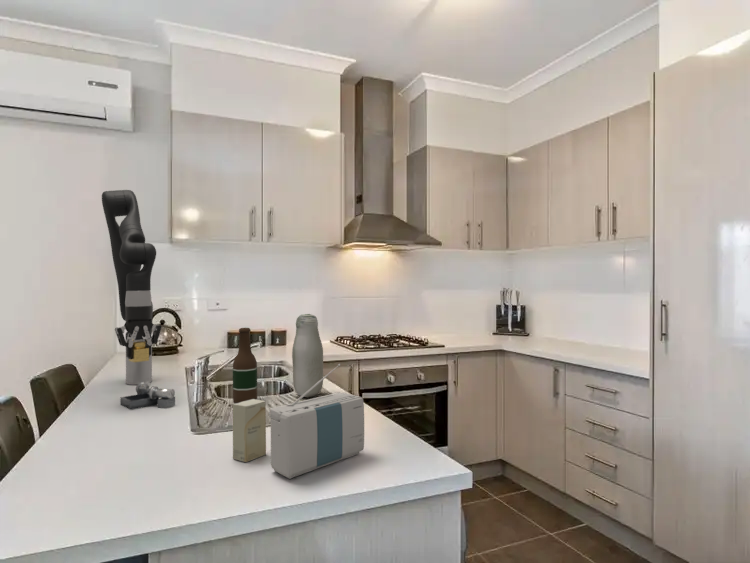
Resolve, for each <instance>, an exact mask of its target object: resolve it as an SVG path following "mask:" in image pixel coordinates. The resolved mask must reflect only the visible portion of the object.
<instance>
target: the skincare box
mask: <svg viewBox="0 0 750 563" xmlns="http://www.w3.org/2000/svg"><path fill="white" fill-rule="evenodd" d="M266 408H267V406H266V400H263V399H262V400H261V399H257V400H256V399H251V400H247V401H243V402H240V403H232V459H233V460H236V461H240V462H243V463H244V462H245V463H248V462H251V461H253V460H256V459H258V458H261V457H263V456H265V455H267V427H266V426H267V423H266V421H267V415H266V412H267V410H266Z"/></svg>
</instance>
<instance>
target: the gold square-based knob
mask: <svg viewBox="0 0 750 563" xmlns="http://www.w3.org/2000/svg"><path fill="white" fill-rule="evenodd" d="M132 347H133V359H129V361H131V362H142V361H149V348H146V341H137V342H133V345H132Z"/></svg>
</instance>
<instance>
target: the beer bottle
mask: <svg viewBox="0 0 750 563" xmlns="http://www.w3.org/2000/svg"><path fill="white" fill-rule="evenodd" d="M238 332H239V338H238V339H239V340H238V341H239V342H238V349H237V350H238V352H237V355H235V358H234V360H233V363H232V401H233V402H232V403H233V404H236V403H240V402H243V401H247V400H251V399H256V400H258V362H257V359H256V357H255V355H254V354H253V352H252V348H251V333H250V332H251V328H250V327H241V328H239V329H238Z"/></svg>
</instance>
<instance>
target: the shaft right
mask: <svg viewBox="0 0 750 563" xmlns="http://www.w3.org/2000/svg"><path fill="white" fill-rule="evenodd" d="M149 389H150V390H149V398H150V399H156V398H159V399H158V405H157V409H158V408H159V409H167V408H171V407H173V406H175V405H176V396H175V395H176V394H175V393H176V392H175V389H173V388H159V387H158V386H154V385H153V386H150V387H149Z"/></svg>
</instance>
